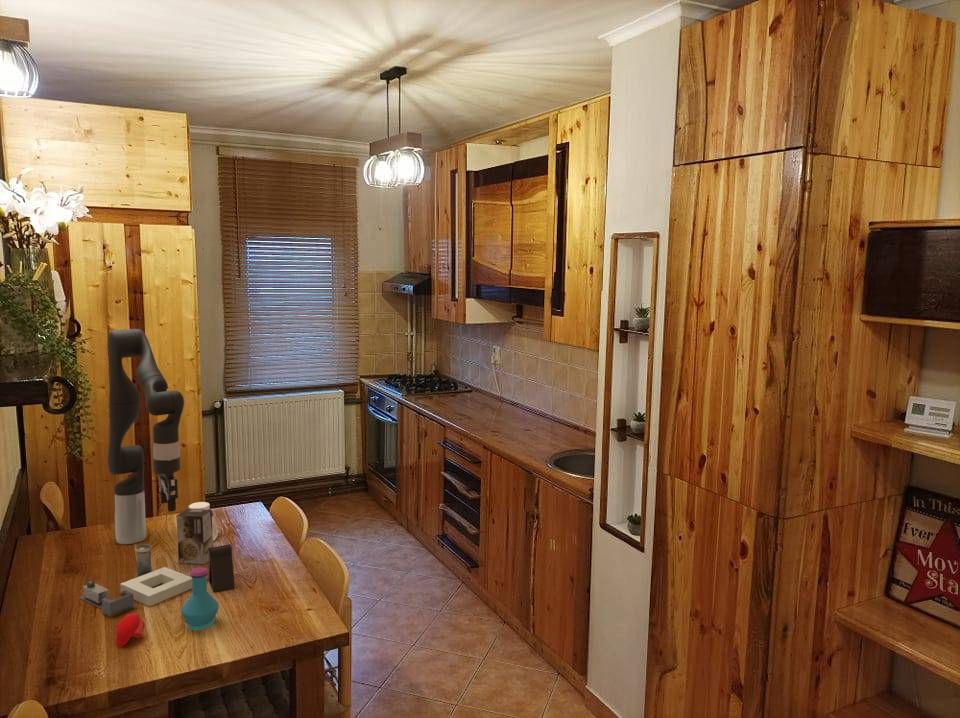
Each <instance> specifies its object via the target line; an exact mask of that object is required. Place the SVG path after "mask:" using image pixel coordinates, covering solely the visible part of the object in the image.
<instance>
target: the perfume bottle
mask: <svg viewBox="0 0 960 718" xmlns="http://www.w3.org/2000/svg"><path fill="white" fill-rule="evenodd" d="M208 574H209V569H207V568H206V567H201V566H200V567H196V568H194V569H192V570H191V572H189V575H190V577H191V578H192V589H191V590H192V593H191V595H190V596H189V598H188V599H187V600H186V601H185V603H184V604H183V606H182V607H181V616H182V617H183V619H184V622H185V623H186V624H187V625H186V627H187V628H188V629H189V628H190V629H189V630H191V629H192V631H201V630H206V629H208V628H210V627H212V626H213V625H214V623H215V619H216V615H217V613H218V612H219V607H220V606H219V603H220V602H219V601H217V600H216V599H215V597H213V596H212V595H211V594H210V593H209V591H208V583H207V582H208Z"/></svg>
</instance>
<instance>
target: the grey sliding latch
mask: <svg viewBox="0 0 960 718" xmlns="http://www.w3.org/2000/svg"><path fill="white" fill-rule="evenodd" d="M78 599H80V600H82V601H85V602H86V603H88V604H90V605H93V606H95V607H96V608H98V609H100V610H102V611H101V612H102V614H104V615H105V616H107V617H110V618H112V617H114V616H116V615H118V614H122V613H123V612H126V611H129V610H131V609H134V608H135V600H134V597H133V593H130V592H128V591H126V590H124V591H122V594H121V596H119V597H117V598H114V599H111V598H109V599H107V598H103V599H102V603H100V604H98V603H96V602H94V601H92V600H90V599H88V598H86V597H84V596H83V595H82V596H79V597H78Z"/></svg>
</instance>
